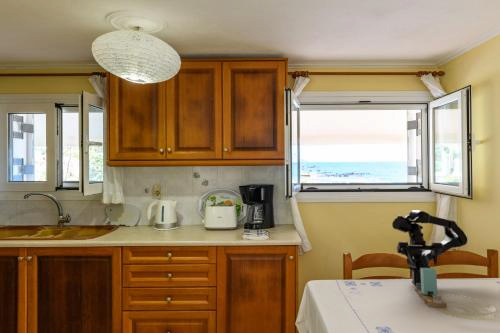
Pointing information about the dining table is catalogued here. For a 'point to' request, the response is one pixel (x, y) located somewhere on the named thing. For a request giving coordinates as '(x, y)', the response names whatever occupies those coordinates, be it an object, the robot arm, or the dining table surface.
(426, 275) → the teal rectangular block
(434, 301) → the cord board
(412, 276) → the robot arm
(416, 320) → the dining table surface
